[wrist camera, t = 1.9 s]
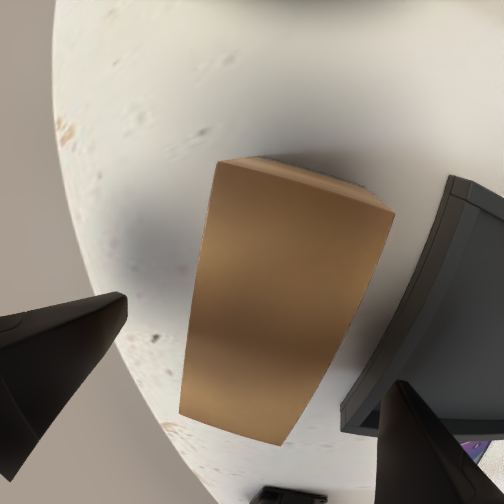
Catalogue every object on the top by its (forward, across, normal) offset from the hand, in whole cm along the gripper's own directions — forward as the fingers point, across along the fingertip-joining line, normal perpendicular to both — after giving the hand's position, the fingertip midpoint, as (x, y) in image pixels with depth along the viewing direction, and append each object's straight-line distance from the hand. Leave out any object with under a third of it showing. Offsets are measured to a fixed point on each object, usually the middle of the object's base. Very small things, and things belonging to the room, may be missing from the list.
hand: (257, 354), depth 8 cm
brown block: (+5, 0, 0) cm, 5 cm away
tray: (+5, -14, 0) cm, 15 cm away
